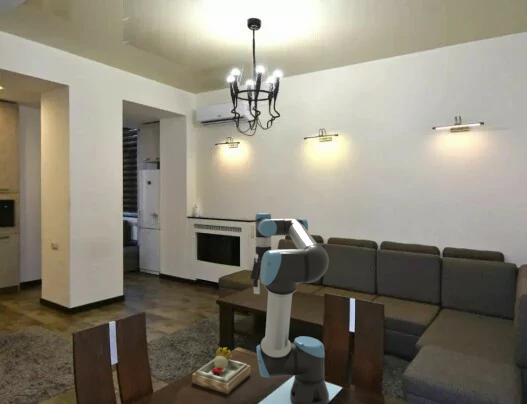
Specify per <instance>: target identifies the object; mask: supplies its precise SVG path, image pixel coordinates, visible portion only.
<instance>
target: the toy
mask: <svg viewBox="0 0 527 404" xmlns="http://www.w3.org/2000/svg"><path fill="white" fill-rule="evenodd" d="M232 355H233V354H232V353H231V350H230V349H228V347H223V348H222V347H219V348H217V350H216V352H215V356H214V358H213V359H214V365H215V367H216V369H212V371H211V373H213V375H216V376H220V371H221V372H224V368H226V366H227V365H228V362H229V359H230V360H231V358H232V357H233V356H232Z"/></svg>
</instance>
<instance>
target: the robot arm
mask: <svg viewBox="0 0 527 404" xmlns="http://www.w3.org/2000/svg"><path fill="white" fill-rule="evenodd" d="M254 224H255V238H254V239H255V245H256V246H255V254H256V255H257V257H254V258H253V265H252V266H253V267H252V269H251V273H250V274H251V275H250V280H252V281H253V294H255V295H260V293H261V292H260V291H261V288H260V285H261V284H262V285H263V286H264V288H265V289H266V291H267V304H266V305H267V306H266V322H265V334H264V335H265V336H264V337H263V338H262V339H261V342H260V344H257V346H256V356H257V357H256V358H257V364H258V370H259V374H260V376H261V377H262V378H269V379H270V378H279V377H288V376H289V377H291V376H294V379H293V383H292V385H291V388H290V394H289V397H290V402H291V403H292V404H329V402H330V395H329V394H330V393H329V390H328V387H327V384H326V381H325V357H326V355H325V346H324V344H323V342H321V341H320V340H319V339H317V338H314V337H311V336H305V335H303V336H301V335H300V336H298V337H295V338H294V341H293V342H291V341H290V340H289V333H290V323H291V314H292V313H291V312H292V301H293V294H294V293H295V292H296V291H297V289H298V285H299V284H309V283H314V282H316V281H318V280H320V279H321V278H322V277H323V276H324V274H325V273H326V272H327V270H328V267H329V261H330V259H329V255H328V253H327V251H326V249H325V247H323V246H322V245H321V244H319V243H317V242H316V240H315V239H314V238H313V236H312V235H311V234H310V232H309V224H308V219H306V218H302V217H296V218H295V217H294V218H293V217H292V218H272V214H271V213H268V212H264V213H263V212H261V213H259V212H258V213H256V214H255V218H254ZM272 236H276V237H277V236H289V237H290V238H291V240H292V242H293V243H294V246H295V247H296V249H295V248H294V249H293V248H292V249H291V248H290V249H279V248H277V249H276V248H275V249H272V246H271V245H272ZM260 282H261V284H260Z"/></svg>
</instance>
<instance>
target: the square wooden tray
mask: <svg viewBox="0 0 527 404" xmlns="http://www.w3.org/2000/svg"><path fill="white" fill-rule="evenodd" d="M214 359H215V358H213V359H212V360H211V361H209V362H208V363H206V364H204V365H203V366H202V367H200V368H199V369H198V370H196V371H195V372H193V373H192V384H194V385H197V386H200V387H203V388H205V389H206V388H207V389H210V390H213V391H217V392H219V393H222V394H226V395H229V394H230V393H231V392H232V391H233V390H235V389H236V388H237V387H238V386H239V385H241V383H242V382H243V381H245V380H246V379H248V377H249V376H250V375H251V364H250V365H249V364H247V363H245V362H241V361H238V360H232V359H231V358H230V359H229V362H228V365H227V366H226V368H224V372H221V371H220V376H216V375H213V373H211V371H212V369H216V367H215V365H214Z"/></svg>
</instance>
